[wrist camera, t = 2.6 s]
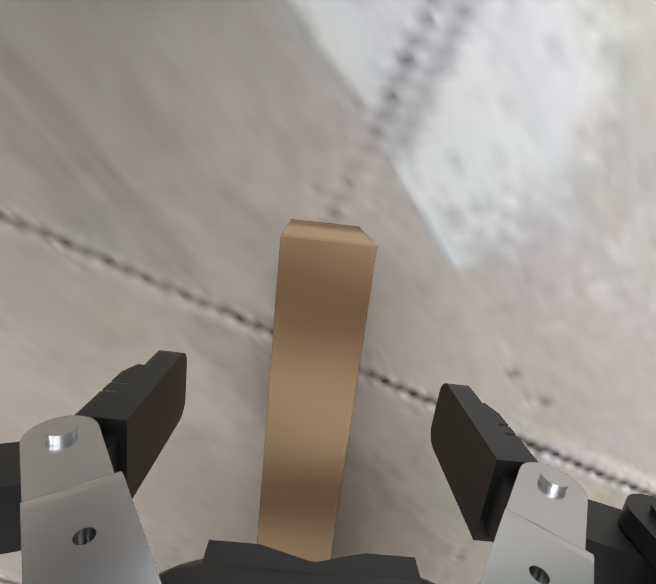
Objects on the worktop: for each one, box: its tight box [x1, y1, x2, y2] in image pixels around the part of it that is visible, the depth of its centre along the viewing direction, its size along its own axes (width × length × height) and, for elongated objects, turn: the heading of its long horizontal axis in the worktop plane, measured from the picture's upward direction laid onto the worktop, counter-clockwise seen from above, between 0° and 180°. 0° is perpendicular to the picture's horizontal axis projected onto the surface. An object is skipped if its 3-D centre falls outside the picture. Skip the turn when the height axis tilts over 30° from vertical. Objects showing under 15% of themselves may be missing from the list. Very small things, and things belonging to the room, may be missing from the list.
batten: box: [257, 219, 377, 562], centre depth 17 cm, size 19×3×6 cm, turn 174°
